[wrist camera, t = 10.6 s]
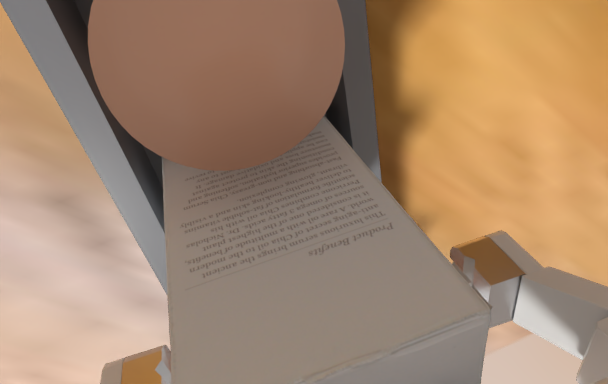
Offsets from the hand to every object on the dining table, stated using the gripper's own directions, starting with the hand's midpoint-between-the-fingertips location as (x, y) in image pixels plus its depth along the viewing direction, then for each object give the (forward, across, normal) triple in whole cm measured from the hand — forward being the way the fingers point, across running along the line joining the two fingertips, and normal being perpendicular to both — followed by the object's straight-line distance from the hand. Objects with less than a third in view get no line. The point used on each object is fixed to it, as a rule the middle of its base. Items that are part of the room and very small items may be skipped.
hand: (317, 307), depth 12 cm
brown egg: (+8, +1, -7) cm, 11 cm away
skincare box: (+9, 0, -1) cm, 9 cm away
